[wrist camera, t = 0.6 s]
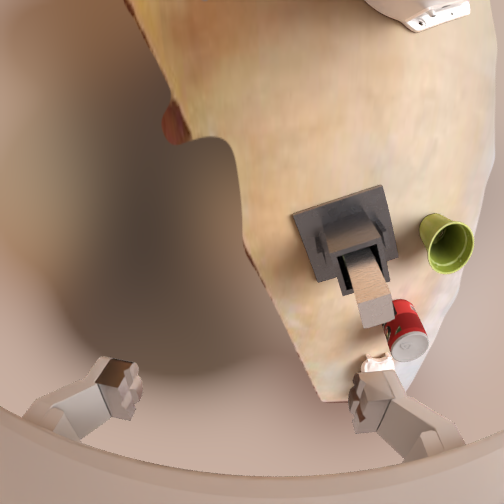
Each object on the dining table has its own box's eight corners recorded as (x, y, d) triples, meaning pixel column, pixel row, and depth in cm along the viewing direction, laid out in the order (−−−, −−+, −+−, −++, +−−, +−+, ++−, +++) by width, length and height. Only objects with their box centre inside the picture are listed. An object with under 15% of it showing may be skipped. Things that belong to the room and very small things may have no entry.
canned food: (384, 297, 56) (398, 333, 46) (418, 298, 55) (435, 333, 45) (375, 326, 59) (385, 363, 50) (407, 326, 59) (421, 361, 49)
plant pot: (401, 239, 50) (418, 262, 42) (426, 195, 45) (447, 212, 38) (436, 257, 50) (454, 281, 43) (460, 217, 46) (482, 236, 38)
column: (358, 223, 48) (391, 291, 30) (365, 247, 50) (396, 322, 32) (334, 231, 49) (355, 303, 32) (342, 254, 51) (363, 332, 33)
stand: (380, 184, 46) (407, 210, 35) (396, 254, 51) (419, 294, 40) (292, 213, 50) (293, 247, 39) (317, 279, 56) (322, 324, 44)
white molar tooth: (357, 348, 67) (352, 399, 68) (364, 364, 59) (357, 417, 60) (390, 346, 66) (382, 396, 67) (400, 360, 57) (390, 413, 59)
